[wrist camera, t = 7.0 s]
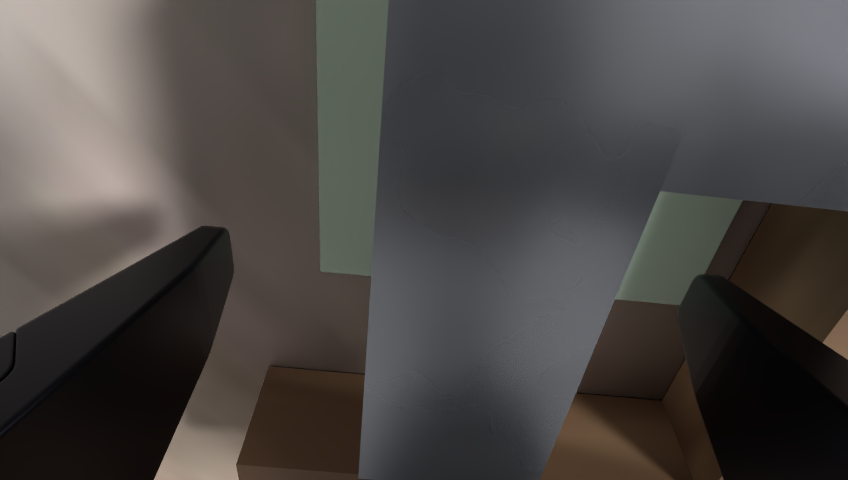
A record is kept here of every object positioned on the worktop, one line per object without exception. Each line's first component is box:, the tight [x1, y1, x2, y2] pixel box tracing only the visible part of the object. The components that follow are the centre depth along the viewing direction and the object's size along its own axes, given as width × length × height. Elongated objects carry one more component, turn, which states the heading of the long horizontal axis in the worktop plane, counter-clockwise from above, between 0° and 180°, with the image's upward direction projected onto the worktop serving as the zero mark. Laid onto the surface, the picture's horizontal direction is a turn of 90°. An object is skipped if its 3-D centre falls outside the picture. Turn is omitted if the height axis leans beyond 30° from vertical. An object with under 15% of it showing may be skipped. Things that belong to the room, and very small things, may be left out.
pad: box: [316, 0, 743, 305], centre depth 11 cm, size 9×9×1 cm
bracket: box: [358, 0, 848, 480], centre depth 9 cm, size 9×6×5 cm, turn 174°
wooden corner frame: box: [236, 203, 848, 480], centre depth 10 cm, size 18×13×3 cm
